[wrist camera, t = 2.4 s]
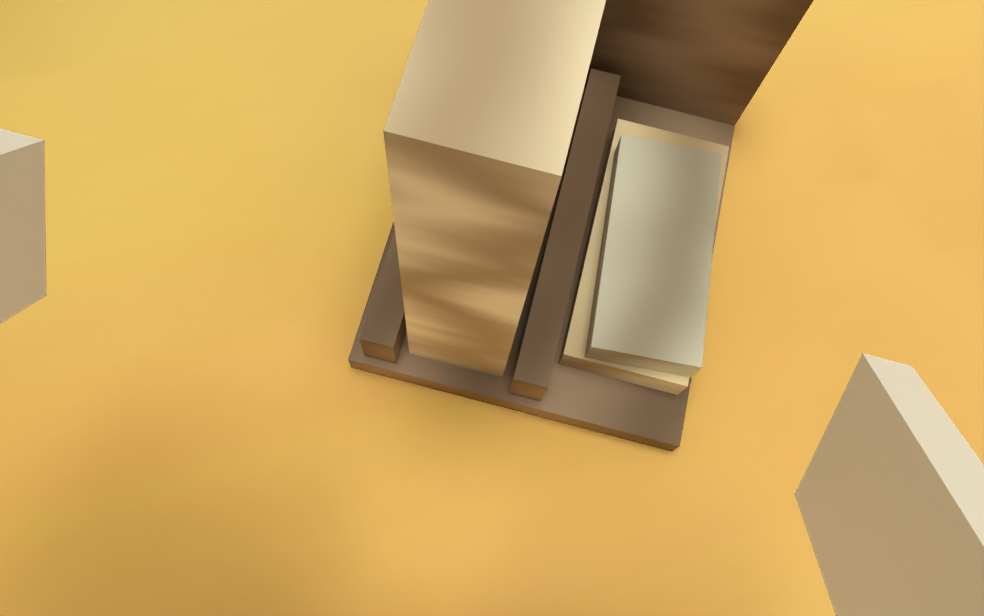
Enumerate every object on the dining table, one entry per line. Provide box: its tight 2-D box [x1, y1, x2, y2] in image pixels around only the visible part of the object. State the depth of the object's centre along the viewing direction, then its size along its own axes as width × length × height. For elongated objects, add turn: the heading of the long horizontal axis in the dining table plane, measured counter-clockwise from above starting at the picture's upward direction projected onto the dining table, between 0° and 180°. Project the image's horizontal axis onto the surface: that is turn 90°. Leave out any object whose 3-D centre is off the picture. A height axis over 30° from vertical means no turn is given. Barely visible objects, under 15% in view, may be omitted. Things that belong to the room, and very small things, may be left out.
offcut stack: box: [558, 119, 729, 395], centre depth 30 cm, size 4×10×3 cm, turn 166°
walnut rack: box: [348, 0, 813, 451], centre depth 28 cm, size 12×15×9 cm
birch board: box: [384, 0, 606, 377], centre depth 24 cm, size 4×12×15 cm, turn 166°
